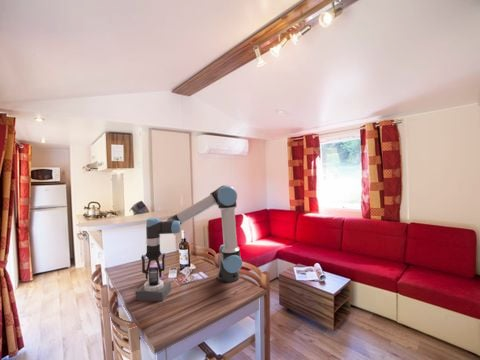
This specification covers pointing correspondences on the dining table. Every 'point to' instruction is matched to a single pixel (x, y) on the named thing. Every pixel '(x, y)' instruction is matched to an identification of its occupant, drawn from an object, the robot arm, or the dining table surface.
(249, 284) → the dining table surface
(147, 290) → the camera body
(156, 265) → the box
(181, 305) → the dining table surface
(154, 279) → the lens
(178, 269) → the dining table surface
